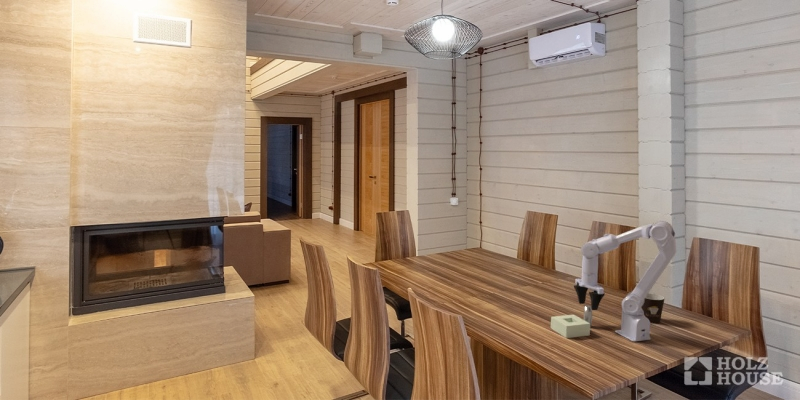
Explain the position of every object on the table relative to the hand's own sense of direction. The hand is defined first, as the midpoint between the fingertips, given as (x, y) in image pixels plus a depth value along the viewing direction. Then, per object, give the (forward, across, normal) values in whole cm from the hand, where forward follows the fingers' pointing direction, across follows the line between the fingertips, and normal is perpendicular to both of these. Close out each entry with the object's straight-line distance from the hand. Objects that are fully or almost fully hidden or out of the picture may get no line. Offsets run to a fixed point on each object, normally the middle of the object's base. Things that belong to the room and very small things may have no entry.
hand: (588, 306), depth 179 cm
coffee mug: (+8, 0, +28) cm, 29 cm away
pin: (+8, 0, 0) cm, 8 cm away
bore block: (+8, +3, -10) cm, 13 cm away
